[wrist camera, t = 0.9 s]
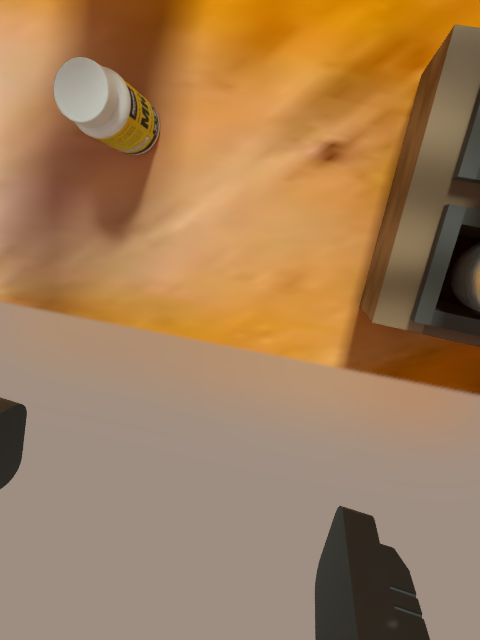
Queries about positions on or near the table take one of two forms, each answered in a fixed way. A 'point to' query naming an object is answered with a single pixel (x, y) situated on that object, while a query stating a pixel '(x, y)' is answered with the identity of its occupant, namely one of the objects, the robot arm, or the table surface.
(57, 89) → the supplement bottle
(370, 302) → the brown wooden block
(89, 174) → the table surface
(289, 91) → the table surface
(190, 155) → the table surface
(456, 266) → the peg
